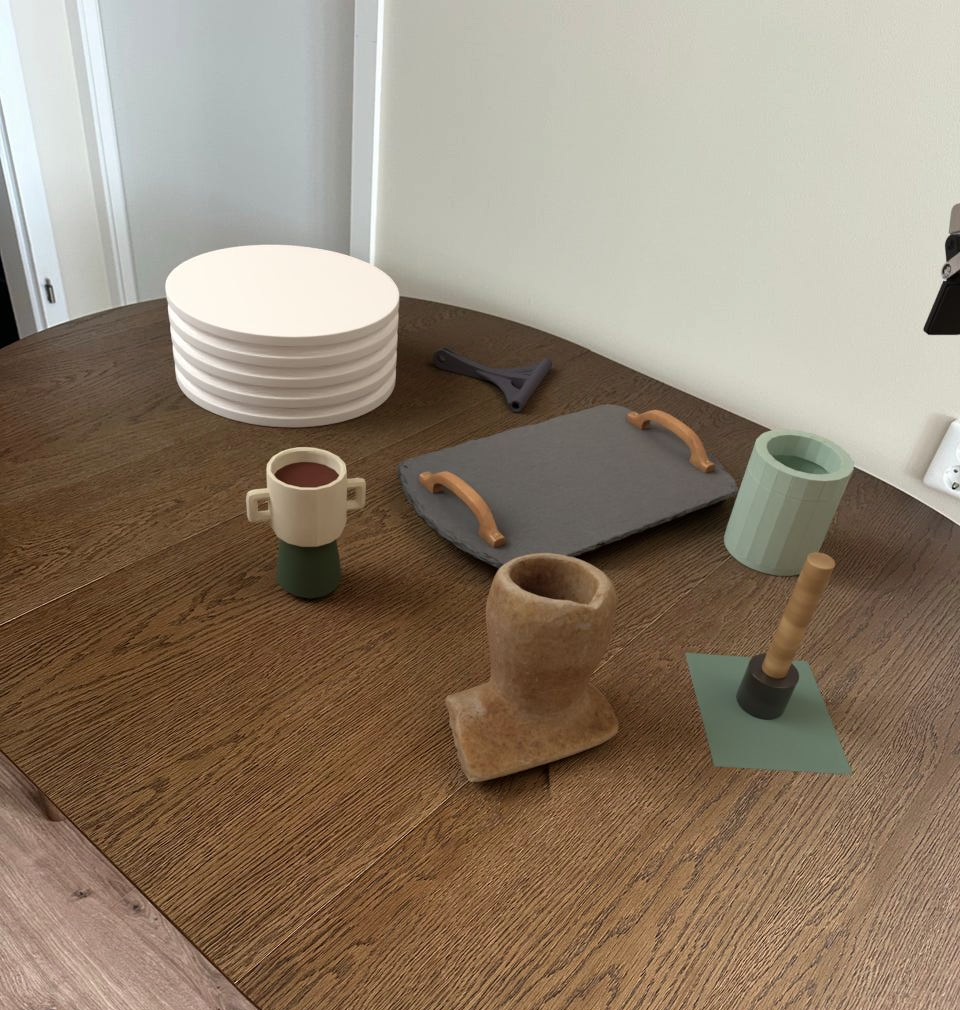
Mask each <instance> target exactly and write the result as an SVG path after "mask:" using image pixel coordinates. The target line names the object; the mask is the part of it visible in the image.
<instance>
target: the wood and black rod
mask: <svg viewBox="0 0 960 1010" xmlns="http://www.w3.org/2000/svg"><path fill="white" fill-rule="evenodd" d="M835 567H836V561H835V560H834V558H833V557H831V556H830V555H828V554H826V553H824V552H820V551H819V552H813V553H810V554H809V555H808V556H807V559H806V561H805V563H804V566H803V568H802V571H801V573H800V574H798V575H799V576H798V578H797V580H796V583H795V585H794V587H793V590H792V592H791V595H790V597H789V599H788V602H787V603H786V606H785V609H784V612H783V614H782V617H781V618H780V622H779V623H778V626H777V627H776V631H775V632H774V635H773V637H772V640H771V641H770V642H771V643H770V645H769V648H768V650H767V652H764V653H758V654H755V655H754V656H752V658H751V660H750V661H749V664H748V666H747V669H746V671H745V674H744V676H743V679H742V681H741V684H740V686H739V689H738V691H737V694H736V699H737V702H738V704H739V706H740V707H741V708H742V709H743V710H744V711H745V712H746V713H748V714H749V715H751V716H753V717H756V718H759V719H764V720H772V719H776V718H779V717H780V716H781V715H782V714H783V713H784V711H785V709H786V707H787V705H788V702H789V700H790V698H791V696H792V694H793V692H794V689H795V687H796V685H797V683H798V681H799V673H798V670H797V669H796V667H795V666H794V665H793V664H792V661H793V660H794V659H795V657H796V655H797V653H798V650H799V648H800V646H801V643H802V641H803V639H804V636H805V634H806V633H807V630H808V627H809V626H810V623H811V621H812V619H813V616H814V614H815V611H816V610H817V608H818V606H819V603H820V601H821V599H822V596H823V593H824V592H825V589H826V587H827V585H828V583H829V581H830V578H831V576H832V574H833V572H834V570H835Z"/></svg>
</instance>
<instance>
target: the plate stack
mask: <svg viewBox="0 0 960 1010" xmlns="http://www.w3.org/2000/svg"><path fill="white" fill-rule="evenodd" d="M164 288H165V295H166V301H167V310H168V311H167V312H168V319H169V324H170V327H169V329H170V330H169V331H170V336H171V338H170V339H171V342H172V354H173V355H172V356H173V361H174V371H175V379H176V382H177V385H178V387H179V389H180V390H181V392H182V393H183V394H184V395H185V397H186V398H188V399H189V400H190V401H191V402H193V403H194V404H195V405H197V406H198V407H200V408H202V409H203V410H206V411H208V412H210V413H213V414H214V415H218V416H220V417H223V418H226V419H229V420H232V421H236V422H238V423H239V422H240V423H244V424H249V425H254V426H255V425H256V426H262V427H270V428H272V427H273V428H312V427H321V426H329V425H333V424H338V423H339V424H340V423H343V422H347V421H349V420H353V419H357V418H359V417H361V416H364V415H366V414H368V413H369V412H372V411H374V410H376V409H377V408H378V407H380V406H381V405H382V404H384V403H385V402H386V401H387V400H388V399H389V398H390V396H392V393H393V391H394V389H395V386H396V379H397V368H396V367H397V358H398V357H397V355H398V351H397V348H398V334H399V333H398V328H399V308H400V290H399V288H398V286H397V284H396V283H395V281H394V280H393V279H392V277H390V276H389V274H387V273H386V272H385V271H383V270H381V269H380V268H378V267H377V266H375V265H373V264H371V263H369V262H367V261H364V260H362V259H359V258H357V257H353V256H351V255H347V254H344V253H340V252H338V251H337V252H336V251H332V250H327V249H322V248H316V247H310V246H302V245H290V244H251V245H241V246H240V245H239V246H232V247H225V248H220V249H216V250H211V251H207V252H204V253H201V254H198V255H195V256H194V257H191V258H189V259H187V260H185V261H183V262H181V263H180V264H178V265H176V267H175V268H173V270H171V272H169V274H168V276H167V278H166V281H165V286H164Z"/></svg>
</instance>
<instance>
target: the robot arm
mask: <svg viewBox="0 0 960 1010" xmlns="http://www.w3.org/2000/svg"><path fill="white" fill-rule="evenodd" d="M948 234H949V235H948V236H947V237H946V239H945V242H944V253H945V263H944V264H943V265H942V267H941V270H940V276H941V278H942V279H943V281H942V283H941V285H940V287H939V290H938V292H937V294H936V297H935V299H934V302H933V304H932V306H931V308H930V311H929V313H928V316H927V318H926V321H925V323H924V326H923V328H922V329H923V332H924V333H925V334H926V335H928V336H960V202H959V203H955V204H954V205H953V206H952V208H951V211H950V218H949V226H948Z"/></svg>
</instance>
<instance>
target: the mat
mask: <svg viewBox="0 0 960 1010" xmlns="http://www.w3.org/2000/svg"><path fill="white" fill-rule="evenodd" d="M684 655H685V658H686V663H687V666H688V670H689V675H690V677H691V680H692V685H693V689H694V693H695V697H696V701H697V705H698V709H699V713H700V718H701V721H702V724H703V728H704V733H705V737H706V740H707V744H708V747H709V751H710V755H711V760H712V764H713V766H714V767H715V768H730V769H731V768H732V769H746V770H747V769H749V770H750V769H751V770H763V771H764V770H765V771H779V772H780V771H782V772H796V773H798V772H799V773H813V774H831V775H848V776H849V775H850V776H853V775H854V773H853V771H852V769H851V766H850V764H849V761H848V758H847V755H846V753H845V751H844V748H843V746H842V743H841V740H840V738H839V736H838V733H837V731H836V728H835V726H834V723H833V720H832V718H831V715H830V712H829V711H828V708H827V706H826V703H825V700H824V698H823V695H822V693H821V691H820V688H819V686H818V685H819V684H818V682H817V680H816V678H815V675H814V673H813V669H812V668H811V665H810V662H809V661H808V660H797V659H795V660H794V659H793V661H792V664H793V665H794V666H795V667H796V669H797V670H798V673H799V681H798V683H797V685H796V687H795V689H794V692H793V694H792V696H791V698H790V700H789V702H788V705H787V707H786V709H785V711H784V713H783V714H782V715H781V716H780V717H779V718H776V719H772V720H764V719H759V718H756V717H753V716H751V715H749V714H748V713H746V712H745V711H744V710H743V709H742V708H741V707H740V706H739V704H738V702H737V699H736V694H737V691H738V689H739V686H740V684H741V681H742V679H743V676H744V674H745V671H746V669H747V666H748V664H749V661H750V660H751V658H752V657H753V656H752V657H751V656H738V655H725V654H724V655H723V654H709V653H698V652H697V653H695V652H685V653H684Z"/></svg>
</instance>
